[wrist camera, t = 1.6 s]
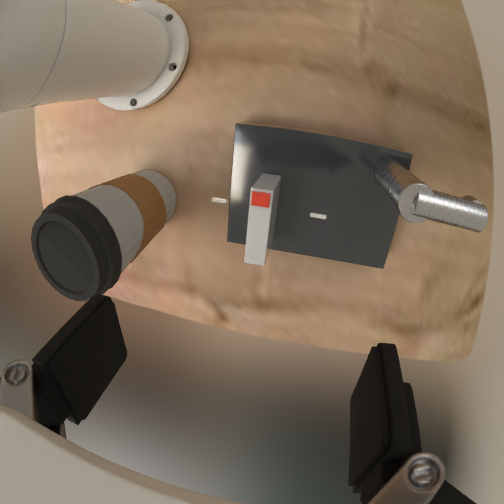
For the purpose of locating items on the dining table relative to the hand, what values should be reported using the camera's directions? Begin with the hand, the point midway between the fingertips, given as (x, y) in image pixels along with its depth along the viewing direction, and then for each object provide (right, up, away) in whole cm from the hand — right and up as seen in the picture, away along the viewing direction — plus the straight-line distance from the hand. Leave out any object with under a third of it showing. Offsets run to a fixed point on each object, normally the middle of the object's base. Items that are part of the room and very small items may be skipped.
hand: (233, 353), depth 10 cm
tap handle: (+2, +7, +17) cm, 18 cm away
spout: (+14, +10, +13) cm, 21 cm away
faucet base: (+7, +10, +19) cm, 22 cm away
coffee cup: (-10, +10, +23) cm, 27 cm away
